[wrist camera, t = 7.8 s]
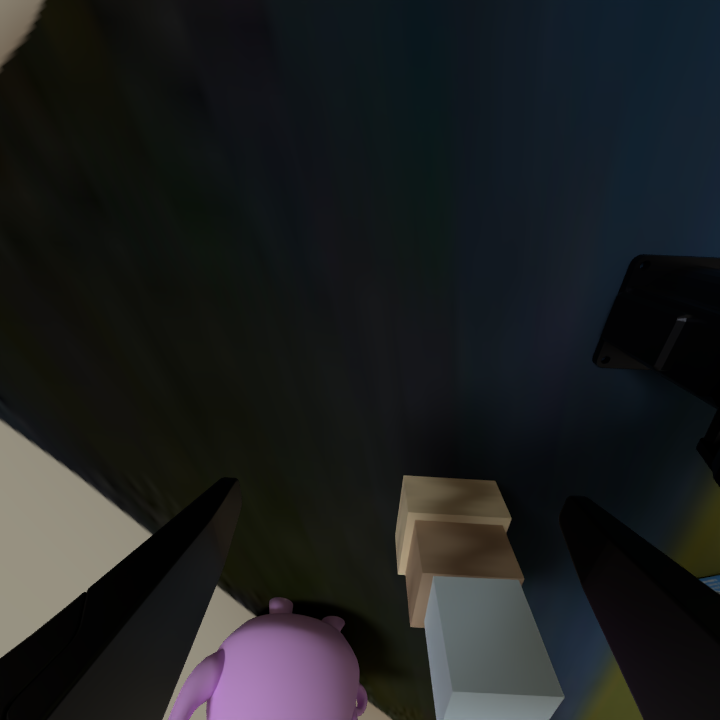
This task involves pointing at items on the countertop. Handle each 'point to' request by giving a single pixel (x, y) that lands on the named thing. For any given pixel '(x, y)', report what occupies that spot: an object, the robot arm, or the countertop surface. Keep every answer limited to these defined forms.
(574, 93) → the countertop surface
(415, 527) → the walnut mid slab
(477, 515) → the oak base slab
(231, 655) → the teapot
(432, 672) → the pale blue cube
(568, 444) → the countertop surface
